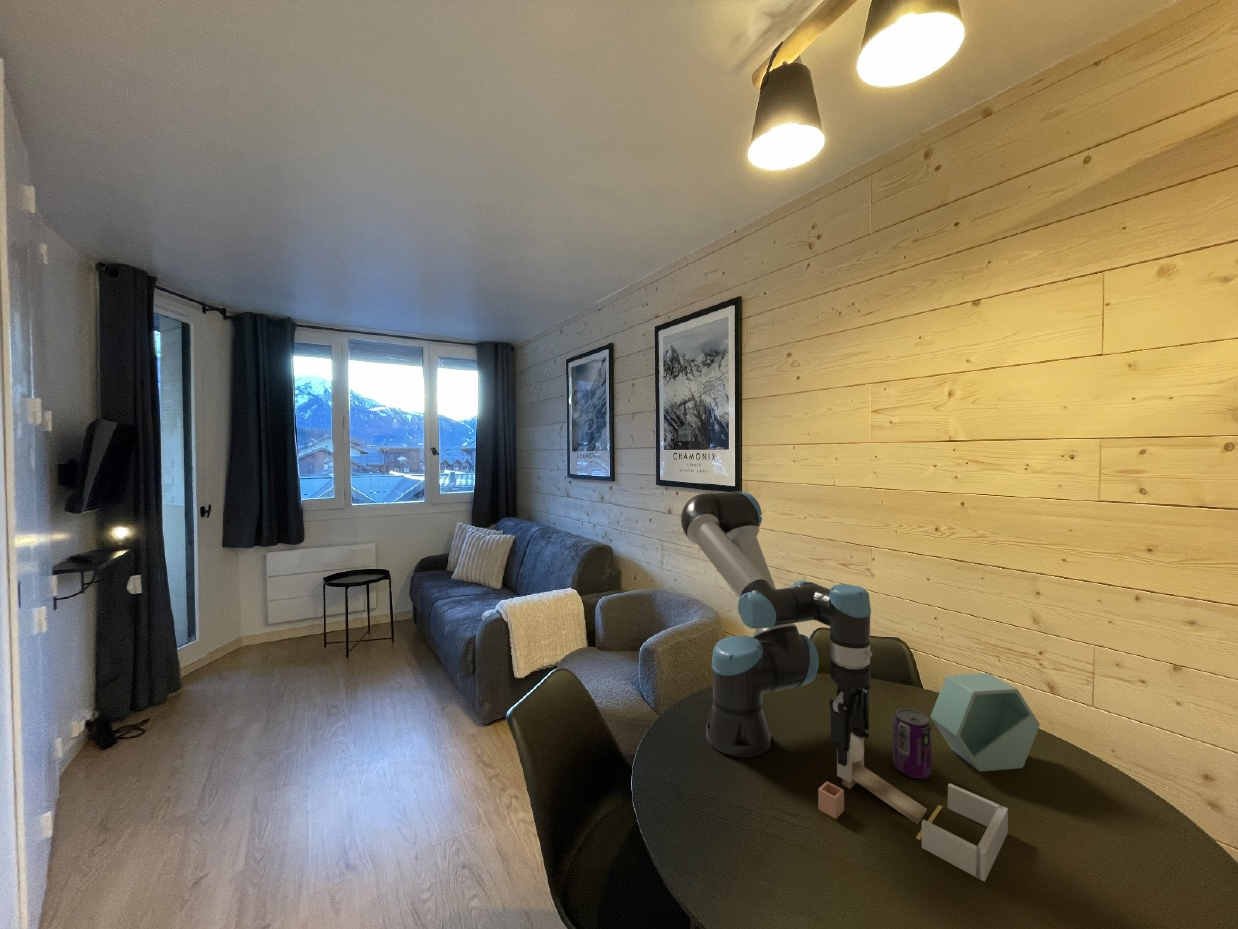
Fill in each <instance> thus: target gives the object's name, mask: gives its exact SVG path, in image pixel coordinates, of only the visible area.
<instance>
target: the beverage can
mask: <svg viewBox="0 0 1238 929" xmlns="http://www.w3.org/2000/svg"><path fill="white" fill-rule="evenodd" d="M929 719H930V718H929V717H928V716H927V715H926V714H925V713H923V712H921V711H918V710H915V709H912V708H898V709H897V710H895V715H894V717H893V719H892V740H893V741H892V764H893V766H894V768H895V769H896V770H897V771H899V772H901V773H902V774H904V775H905V776H907V777H910V778H913V779H927V778H929V777H931V776H932V772H933V771H932V764H933V763H932V759H933V758H932V749H933V748H932V747H933V746H932V743H933V742H932V741H933V740H932V726H931V725H930V720H929Z"/></svg>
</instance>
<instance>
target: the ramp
mask: <svg viewBox="0 0 1238 929" xmlns="http://www.w3.org/2000/svg"><path fill="white" fill-rule="evenodd" d="M841 780H842V786H843V787H846V788H848V789H850V790H851V789H852V788H853V787H854V786H855V785H856V784H859V785H860V786H861V787H863V788H864V789H866V790H867V791H869V792H870V793H871V794H872V795H875V797H877V798H879V799H880V800H881V801H883V802H884V803H886V804H887V805H888V806H890V807H891V808H893V809H894V810H896V811H897V812H899V813H900V814H901V815H903V816H904V817H905V818H907V819H909V820H910V821H911V822H913V823H915V824H918V825H919V824H920V822H922V820H923V819H924V816H925V815H926V814H927V811H928V809H927V808H926V807H925V806H923V805H922V804H920V803H919V802H918V801H916V800H914V799H913V798H912V797H910V796H909V795H907V794H905V793H904V792H902V791H901V790H900V789H898V788H896V787H895V786H894V785H892V784H890V783H889V782H887V781H886V780H884V779H883V778H882V777H880V776H879V775H877V774H875V773H874V772H873V771H872V770H870V769H868V768H866V766H865V765H864V766H862V765H861V764H859V763H858V762H852V781H851V782H848V781H846V780H845V779H843V778H841Z"/></svg>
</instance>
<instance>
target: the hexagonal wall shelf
mask: <svg viewBox="0 0 1238 929" xmlns="http://www.w3.org/2000/svg"><path fill="white" fill-rule="evenodd" d="M929 717H930V719H931V721H932V722H933V724H934V725H935V726H936V728H937V729H938V731H939V732H940V734H941V735H942V738H943V739H944V740H945V741H946V743H947V745H948V746H949V748H950V749H951V750H952V751H953V752H954V753H955V754H957V755H958V756H959V757H960V758H962V759H963V761H964V760H965V762H967V763H968V764H969V765H970V766H972V767H973V768H974V769H975V770H977V771H978V772H989V771H990V772H991V771H992V772H993V771H1002V770H1003V771H1004V770H1005V771H1006V770H1015V769H1022V768H1023V767H1024V766H1025V763H1026V761H1027V758H1028V756H1029V754H1030V751H1031V748H1032V746H1033V744H1034V741H1035V738H1036V736H1037V733H1038V731H1039V728H1040V725H1041V724H1040V722H1039V720H1038V719H1037V718H1036V716H1035V714H1034V713H1033V711H1032V710H1031V707H1030V706H1029V704H1028V703H1027V702H1026V700H1025V698H1024V697H1023V696H1022V694H1021V692H1020V690H1018V688H1016V687H1014V686H1012V685H1011V684H1009V683H1007V682H1005V681H1003V680H1001V679H999V678H998V677H995V676H994V675H992V674H990V673H988V672H985V673H983V672H982V673H968V674H967V673H966V674H956V675H955V674H951V675H950V674H949V675H946V676H945V679H944V681H943V683H942V686H941V688H940V691H939V694H938V696H937V699H936V701H935V704H934V706H933V709H932V711H931V714H930V716H929Z"/></svg>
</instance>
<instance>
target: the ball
mask: <svg viewBox="0 0 1238 929" xmlns="http://www.w3.org/2000/svg"><path fill="white" fill-rule="evenodd" d="M850 749H852V762H858V761H860V760H861V759H862V758H863V756H864V755H865V746H864V747H863V744H862V743H861V741H860V740H859V739H858V738H857V737H855V736H853V735H851V738H850ZM864 757H865V756H864Z"/></svg>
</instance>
